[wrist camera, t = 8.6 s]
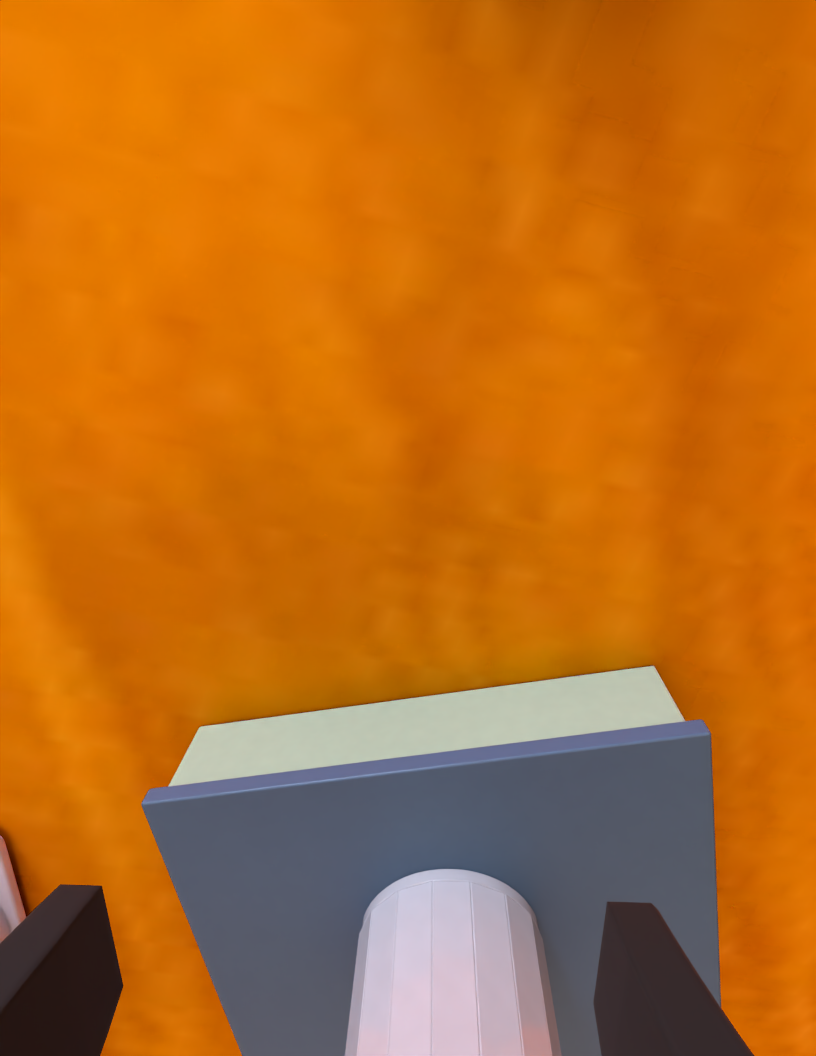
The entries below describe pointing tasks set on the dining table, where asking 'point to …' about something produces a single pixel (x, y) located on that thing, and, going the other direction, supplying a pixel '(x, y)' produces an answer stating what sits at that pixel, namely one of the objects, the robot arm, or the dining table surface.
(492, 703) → the blue hardcover book
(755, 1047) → the dining table surface
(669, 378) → the dining table surface
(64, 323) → the dining table surface
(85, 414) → the dining table surface
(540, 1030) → the white cylindrical tumbler
